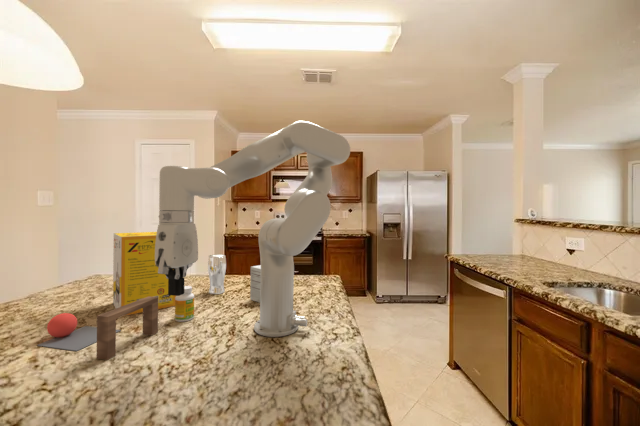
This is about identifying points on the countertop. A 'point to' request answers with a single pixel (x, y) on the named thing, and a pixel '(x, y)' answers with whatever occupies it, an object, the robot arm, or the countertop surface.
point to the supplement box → (255, 283)
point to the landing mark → (74, 339)
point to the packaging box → (138, 271)
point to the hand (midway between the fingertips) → (176, 294)
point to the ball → (62, 325)
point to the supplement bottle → (184, 305)
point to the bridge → (108, 319)
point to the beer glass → (216, 273)
